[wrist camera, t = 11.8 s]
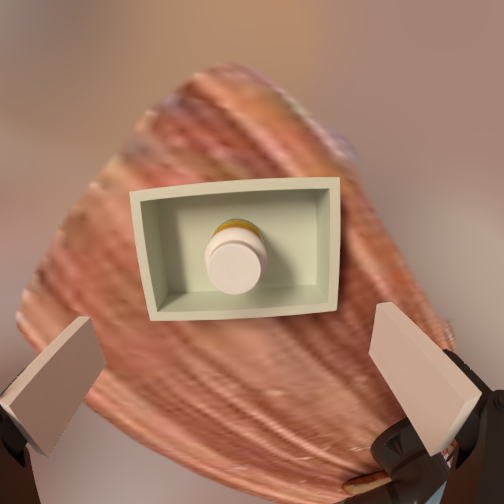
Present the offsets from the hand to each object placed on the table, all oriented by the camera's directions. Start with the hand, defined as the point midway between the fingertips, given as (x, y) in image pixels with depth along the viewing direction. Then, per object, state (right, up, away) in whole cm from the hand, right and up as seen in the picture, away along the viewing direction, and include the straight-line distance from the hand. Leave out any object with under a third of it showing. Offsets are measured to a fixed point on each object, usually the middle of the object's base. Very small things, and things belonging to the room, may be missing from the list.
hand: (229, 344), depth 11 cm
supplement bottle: (-1, +5, +18) cm, 19 cm away
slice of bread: (+36, -59, +38) cm, 79 cm away
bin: (-1, +5, +19) cm, 20 cm away
